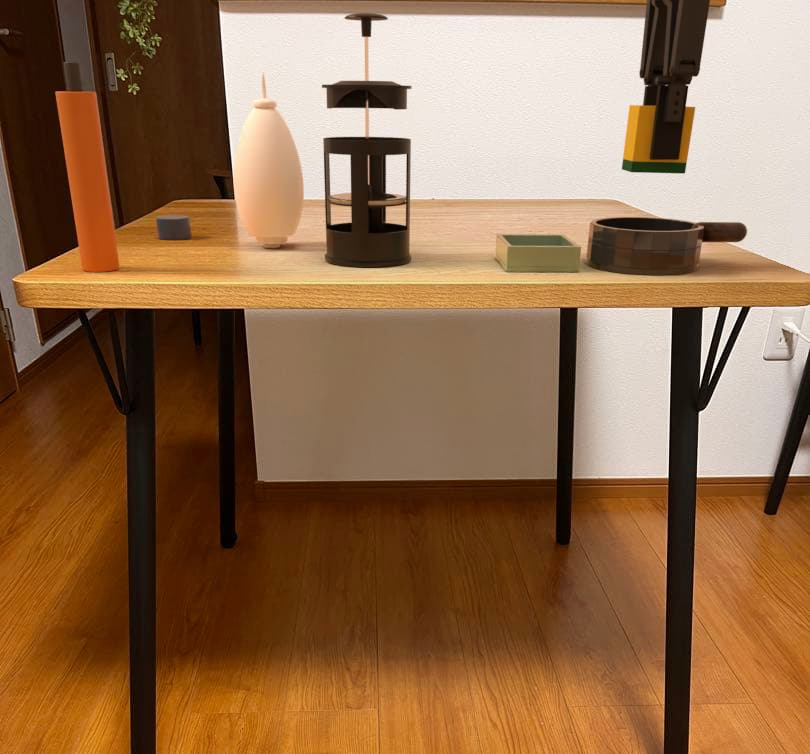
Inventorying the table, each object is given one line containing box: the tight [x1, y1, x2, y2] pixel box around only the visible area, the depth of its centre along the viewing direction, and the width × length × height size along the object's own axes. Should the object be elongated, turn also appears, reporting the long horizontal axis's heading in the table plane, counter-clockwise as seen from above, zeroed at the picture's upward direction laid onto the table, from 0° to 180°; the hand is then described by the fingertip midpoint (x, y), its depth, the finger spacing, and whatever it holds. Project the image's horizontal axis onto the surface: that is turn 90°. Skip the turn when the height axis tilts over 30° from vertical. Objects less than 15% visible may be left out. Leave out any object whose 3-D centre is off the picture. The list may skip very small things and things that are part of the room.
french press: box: [321, 12, 412, 268], centre depth 90 cm, size 12×9×23 cm
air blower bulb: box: [233, 72, 305, 249], centre depth 98 cm, size 8×8×18 cm
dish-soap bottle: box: [55, 61, 120, 273], centre depth 85 cm, size 4×4×18 cm
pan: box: [586, 216, 704, 276], centre depth 93 cm, size 12×12×4 cm
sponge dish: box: [494, 233, 582, 273], centre depth 93 cm, size 8×8×2 cm
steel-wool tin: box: [155, 214, 192, 241], centre depth 108 cm, size 4×4×2 cm
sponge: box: [621, 104, 696, 174], centre depth 88 cm, size 6×4×6 cm
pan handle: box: [691, 221, 748, 243], centre depth 93 cm, size 6×2×2 cm, turn 92°
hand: (657, 157), depth 89 cm, fingers closed on sponge, 4 cm apart
